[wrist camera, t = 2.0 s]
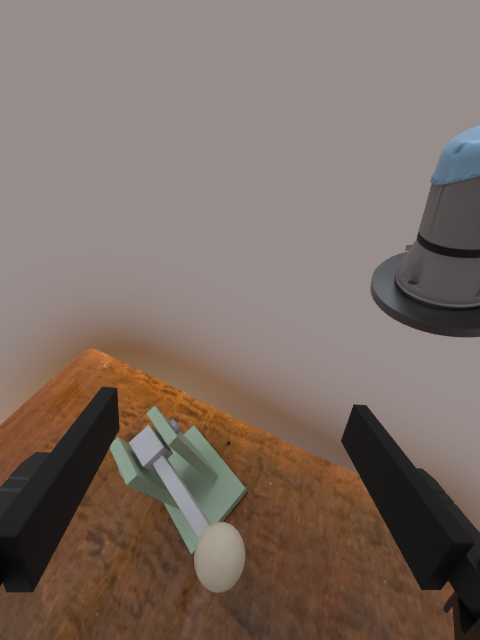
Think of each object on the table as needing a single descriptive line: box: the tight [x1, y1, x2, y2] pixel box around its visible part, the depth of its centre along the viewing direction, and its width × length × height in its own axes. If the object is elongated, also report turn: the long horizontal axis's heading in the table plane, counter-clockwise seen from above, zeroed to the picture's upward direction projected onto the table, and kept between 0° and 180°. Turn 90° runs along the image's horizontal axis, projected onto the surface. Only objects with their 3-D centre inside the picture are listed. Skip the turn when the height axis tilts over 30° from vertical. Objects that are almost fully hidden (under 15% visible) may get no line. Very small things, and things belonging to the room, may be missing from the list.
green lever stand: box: [110, 406, 248, 555], centre depth 26 cm, size 11×8×14 cm
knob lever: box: [129, 425, 245, 593], centre depth 20 cm, size 13×4×4 cm, turn 43°
